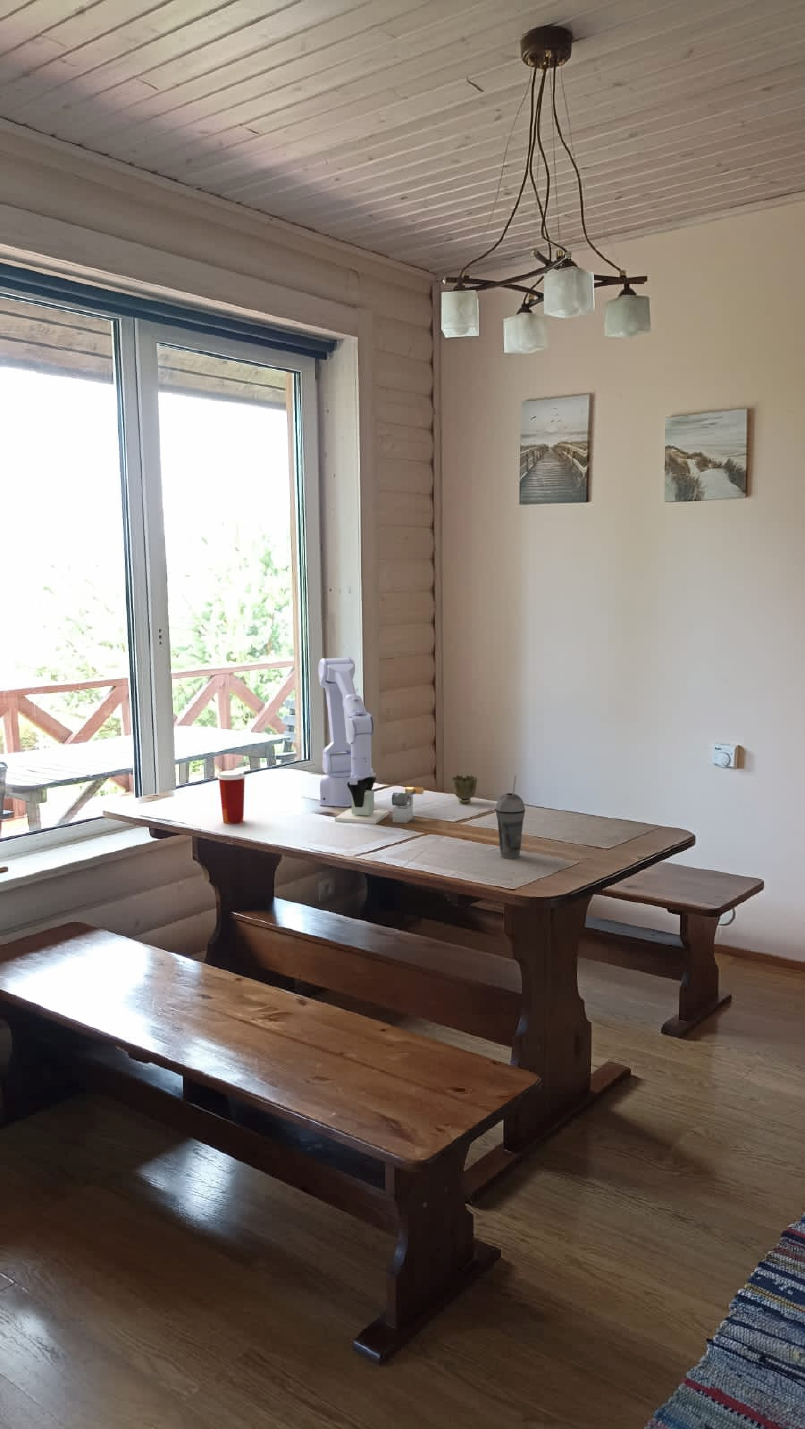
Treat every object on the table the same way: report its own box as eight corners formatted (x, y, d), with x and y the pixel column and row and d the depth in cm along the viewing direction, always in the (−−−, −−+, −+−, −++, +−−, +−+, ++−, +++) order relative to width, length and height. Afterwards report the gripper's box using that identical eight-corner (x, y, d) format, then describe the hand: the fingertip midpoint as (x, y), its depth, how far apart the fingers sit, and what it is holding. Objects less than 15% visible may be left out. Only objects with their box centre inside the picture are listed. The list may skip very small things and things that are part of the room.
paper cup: (252, 819, 285) (250, 771, 283) (237, 825, 278) (235, 776, 276) (229, 817, 288) (227, 769, 286) (213, 823, 281) (211, 774, 279)
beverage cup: (492, 852, 247) (492, 773, 245) (521, 851, 248) (522, 772, 245) (498, 861, 240) (498, 778, 237) (528, 859, 241) (528, 778, 238)
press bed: (335, 821, 281) (335, 817, 281) (349, 811, 293) (349, 808, 293) (375, 823, 278) (375, 820, 278) (388, 814, 289) (388, 810, 289)
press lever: (389, 806, 278) (389, 793, 277) (407, 793, 294) (407, 781, 294) (406, 807, 276) (406, 794, 276) (423, 794, 293) (423, 782, 292)
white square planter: (392, 822, 280) (391, 798, 279) (398, 817, 285) (398, 794, 284) (407, 823, 278) (406, 799, 277) (413, 818, 284) (413, 795, 283)
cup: (477, 800, 305) (477, 774, 304) (477, 806, 298) (476, 779, 297) (453, 800, 306) (452, 774, 305) (451, 805, 299) (451, 779, 298)
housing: (351, 814, 283) (351, 792, 282) (357, 810, 288) (357, 788, 287) (368, 815, 282) (368, 793, 281) (374, 811, 287) (373, 789, 286)
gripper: (366, 762, 275) (367, 811, 277) (382, 753, 289) (383, 800, 290) (342, 761, 277) (343, 809, 279) (359, 752, 291) (360, 798, 292)
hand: (362, 804), depth 285 cm, fingers closed on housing, 5 cm apart
